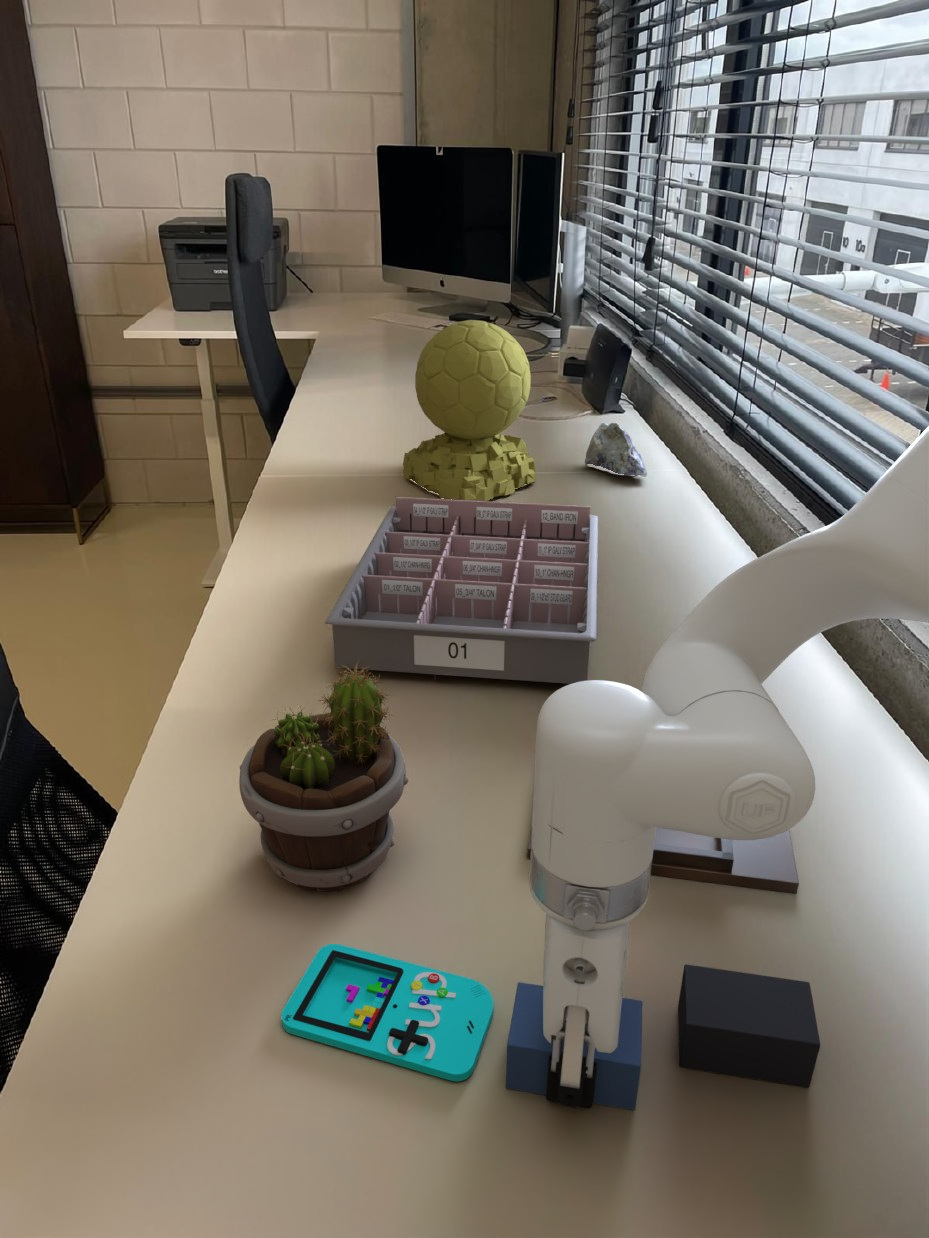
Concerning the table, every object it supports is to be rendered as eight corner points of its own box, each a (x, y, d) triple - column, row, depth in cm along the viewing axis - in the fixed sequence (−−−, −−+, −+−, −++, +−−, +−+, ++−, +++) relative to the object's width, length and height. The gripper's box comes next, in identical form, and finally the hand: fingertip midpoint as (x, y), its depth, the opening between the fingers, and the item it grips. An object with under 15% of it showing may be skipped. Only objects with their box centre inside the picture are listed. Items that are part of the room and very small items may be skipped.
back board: (773, 762, 101) (777, 741, 100) (796, 893, 83) (802, 870, 82) (549, 737, 105) (550, 717, 104) (526, 858, 87) (527, 835, 86)
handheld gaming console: (468, 1075, 66) (275, 1019, 70) (468, 1085, 66) (276, 1029, 70) (501, 984, 73) (324, 938, 77) (501, 993, 73) (325, 947, 78)
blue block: (637, 1043, 70) (642, 1000, 68) (635, 1110, 65) (641, 1066, 63) (516, 1024, 71) (517, 981, 69) (505, 1088, 66) (507, 1044, 64)
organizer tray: (328, 680, 116) (322, 607, 111) (392, 552, 151) (390, 493, 146) (592, 699, 112) (597, 624, 107) (594, 563, 147) (599, 503, 143)
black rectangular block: (799, 1024, 71) (809, 981, 69) (809, 1088, 66) (820, 1044, 64) (677, 1005, 73) (684, 963, 71) (678, 1067, 68) (685, 1024, 66)
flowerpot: (258, 931, 79) (232, 732, 70) (243, 817, 92) (220, 637, 83) (426, 896, 83) (423, 703, 74) (389, 792, 96) (382, 617, 87)
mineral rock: (648, 485, 180) (653, 433, 175) (592, 485, 180) (596, 434, 175) (635, 464, 192) (639, 415, 187) (582, 464, 191) (585, 415, 187)
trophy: (477, 457, 195) (479, 306, 181) (552, 484, 180) (560, 322, 166) (389, 479, 182) (383, 318, 169) (461, 511, 167) (461, 337, 154)
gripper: (648, 984, 51) (621, 1188, 60) (651, 792, 66) (629, 976, 75) (511, 964, 53) (503, 1167, 61) (545, 780, 68) (535, 962, 76)
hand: (573, 1060), depth 68 cm, fingers closed on blue block, 5 cm apart
